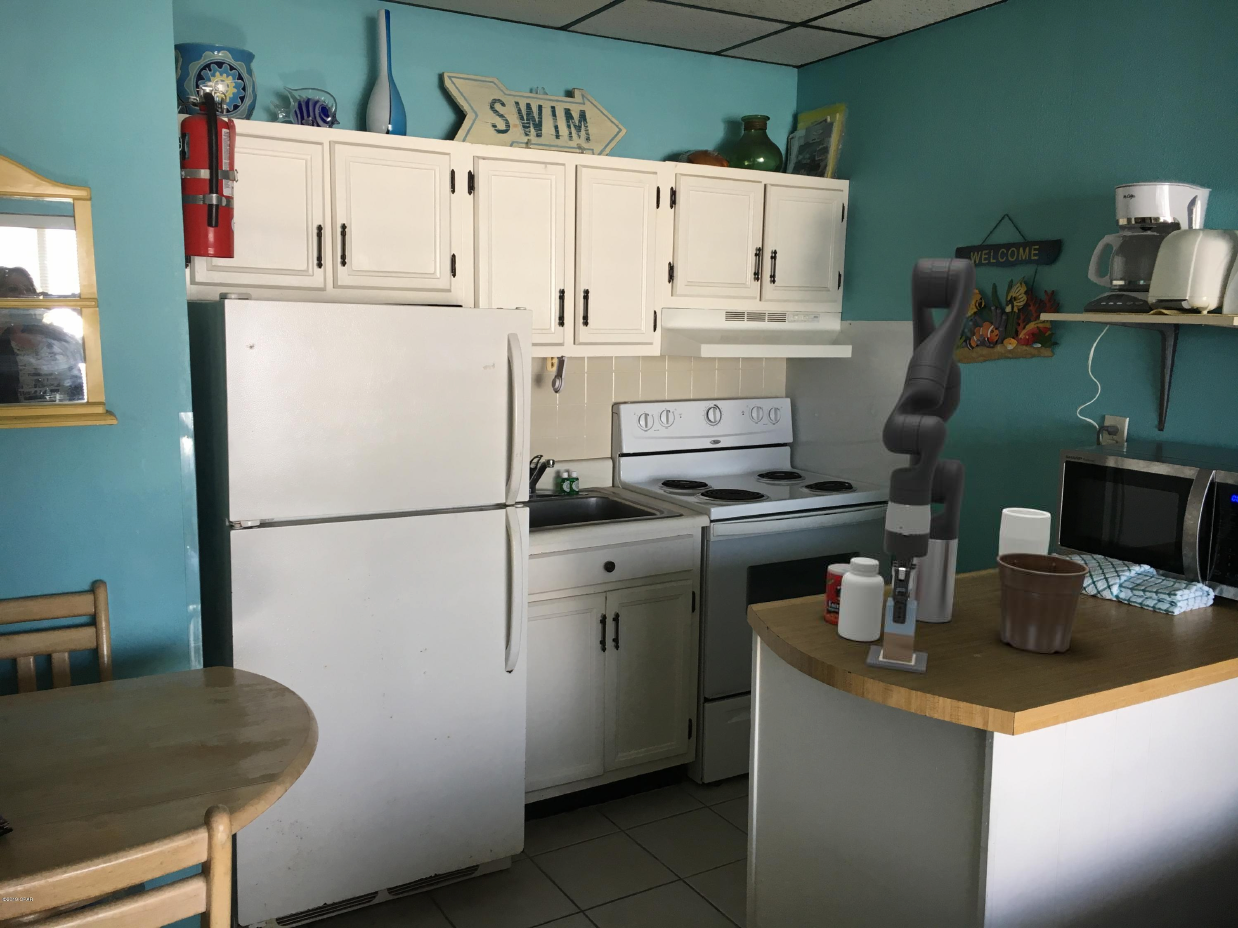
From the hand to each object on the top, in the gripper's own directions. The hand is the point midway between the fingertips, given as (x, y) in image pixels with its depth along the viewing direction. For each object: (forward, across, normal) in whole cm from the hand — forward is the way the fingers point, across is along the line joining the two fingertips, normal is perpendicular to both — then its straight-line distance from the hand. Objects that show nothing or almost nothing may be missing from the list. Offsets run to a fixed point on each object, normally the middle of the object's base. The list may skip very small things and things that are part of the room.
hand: (900, 616), depth 174 cm
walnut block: (+8, 0, 0) cm, 8 cm away
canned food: (+8, -21, -12) cm, 26 cm away
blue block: (+3, 0, 0) cm, 3 cm away
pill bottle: (+8, -12, -8) cm, 17 cm away
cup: (+8, -47, +22) cm, 52 cm away
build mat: (+8, 0, 0) cm, 8 cm away
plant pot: (+8, -22, +24) cm, 34 cm away
